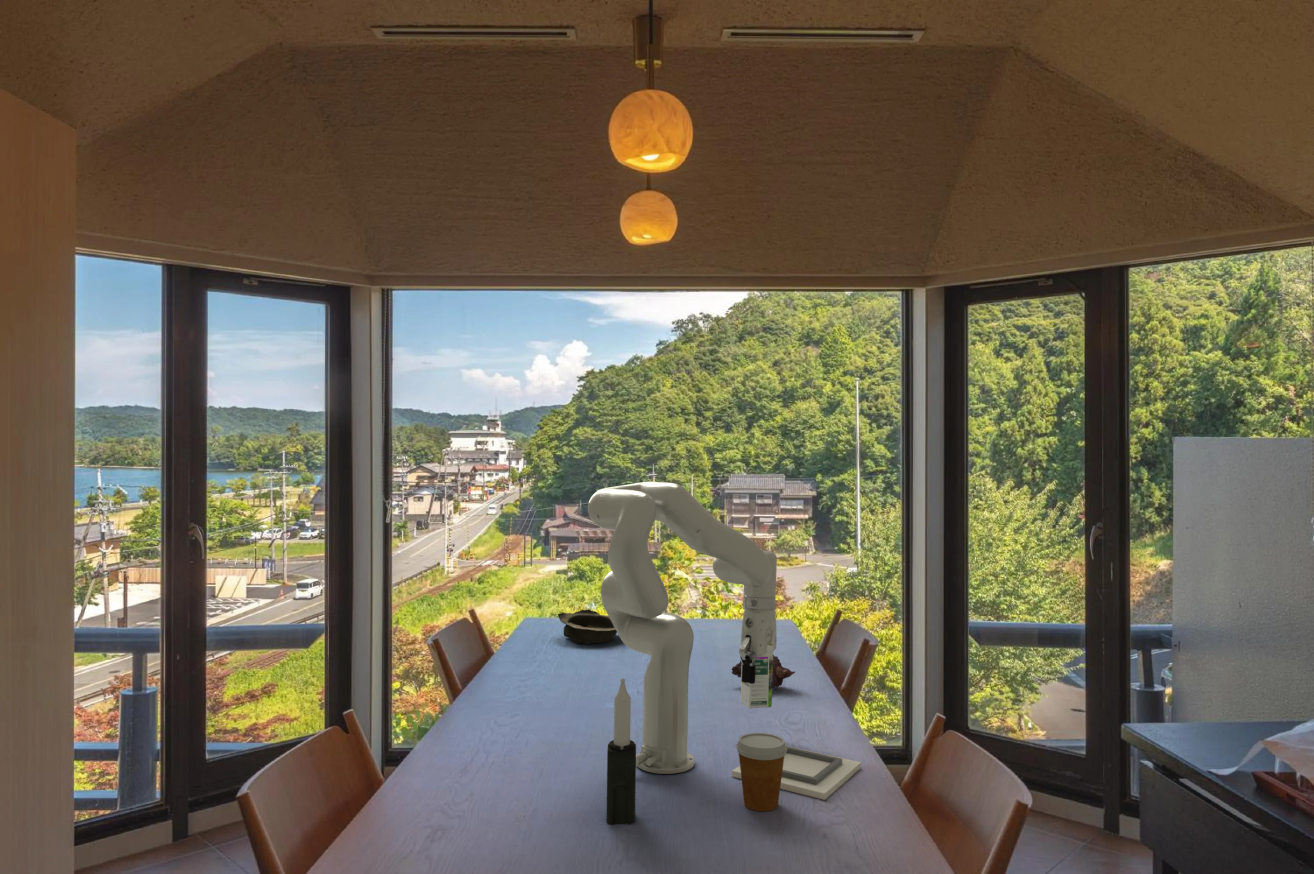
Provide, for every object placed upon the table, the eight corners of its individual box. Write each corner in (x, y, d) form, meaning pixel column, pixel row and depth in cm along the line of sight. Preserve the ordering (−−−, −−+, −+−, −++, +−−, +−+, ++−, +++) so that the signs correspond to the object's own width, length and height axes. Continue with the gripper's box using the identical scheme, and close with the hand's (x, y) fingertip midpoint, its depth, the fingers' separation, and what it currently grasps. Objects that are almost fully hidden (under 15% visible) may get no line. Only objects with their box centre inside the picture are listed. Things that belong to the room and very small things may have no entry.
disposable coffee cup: (725, 803, 158) (725, 739, 158) (757, 790, 165) (757, 728, 165) (765, 820, 151) (766, 752, 152) (796, 805, 158) (797, 740, 158)
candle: (634, 812, 154) (636, 674, 154) (635, 824, 149) (637, 682, 149) (606, 812, 154) (609, 674, 154) (606, 824, 149) (608, 682, 149)
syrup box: (748, 708, 193) (751, 644, 194) (739, 701, 199) (741, 639, 199) (771, 707, 195) (774, 644, 195) (762, 700, 200) (764, 639, 201)
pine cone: (730, 691, 234) (731, 655, 234) (731, 681, 243) (732, 647, 244) (795, 694, 231) (795, 657, 232) (793, 684, 241) (794, 649, 242)
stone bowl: (549, 633, 304) (551, 607, 304) (616, 635, 311) (618, 610, 312) (562, 648, 280) (565, 620, 281) (634, 649, 288) (637, 622, 288)
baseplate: (824, 799, 161) (824, 788, 161) (731, 776, 172) (732, 765, 172) (861, 767, 177) (861, 757, 177) (774, 748, 188) (774, 738, 188)
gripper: (756, 609, 188) (754, 689, 188) (789, 601, 203) (786, 675, 202) (727, 605, 192) (724, 683, 192) (761, 598, 207) (758, 670, 206)
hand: (756, 678), depth 197 cm, fingers closed on syrup box, 7 cm apart
